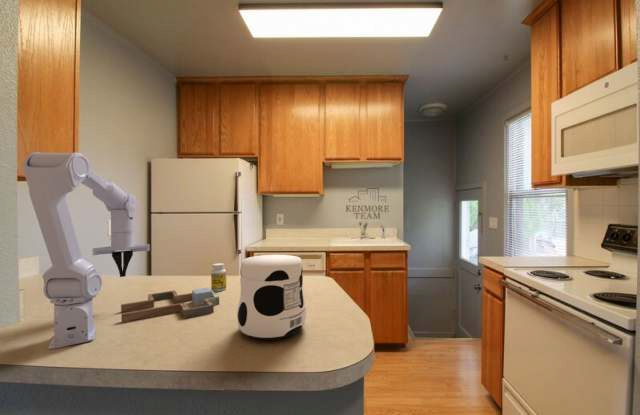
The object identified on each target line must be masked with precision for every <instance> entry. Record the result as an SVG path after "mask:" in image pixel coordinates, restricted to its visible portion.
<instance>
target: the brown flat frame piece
mask: <svg viewBox="0 0 640 415" xmlns="http://www.w3.org/2000/svg"><path fill="white" fill-rule="evenodd" d="M210 290H211V291H212V289H210ZM169 299H172V301H173V302H174V304H168V305H163V306H158V307H155V302H156V301H163V300H169ZM190 301H192V292H190V293H189V292H188V293H185V294H184V293H183V294H178V293H177V291H176V290H169V291H162V292H155V293H150V294H147V299H146V300H141V301H134V302H128V303H121V304H120V313H121V323H122V322H124V323H128V322H127V321H129V322H133V321H132V320H134V321H138V320H137V319H139V320H144V319H143V318H145V319H150V318H154V317H158V316H165V315H171V314H175V313H180V314H181V315H182V317H183V319H188V318H189V319H190V318H194V317H199V316H203V315H208V314H212V313H214V306H216V305H220V297H219V295H218V294H216V293H215V291H212V298H207V299H204V305H200V306H195V307H191V308H187V307H186V305H185V303H186V302H190ZM184 302H185V303H184ZM149 317H150V318H149Z"/></svg>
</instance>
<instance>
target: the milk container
mask: <svg viewBox="0 0 640 415" xmlns="http://www.w3.org/2000/svg"><path fill="white" fill-rule="evenodd" d="M239 269H240V277H239V278H240V281H239V282H240V283H239V284H240V297H239V301H238V304H237V310H236V320H237V325H238V329H239V330H240V332H241V334H243V335H246V336H247V337H249V338H251V339H256V340H262V341H263V340H264V341H265V340H266V341H271V340H278V339H284V338H287V337H290V336H293V335H294V334H297V333H298V332H299V331H300V330H301V329H302V328H303V327H304V325H305V324H306V323H305V322H306V318H307V306H306V301H305V297H304V293H303V292H304V291H303V290H304V289H303V286H304V285H303V278H304V276H303V262H302V258H301V257H299V256H296V255H292V254H291V255H289V254H262V255H261V254H260V255H254V256H250V257H246V258H243V259H242V260H241V263H240V268H239Z"/></svg>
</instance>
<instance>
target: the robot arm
mask: <svg viewBox="0 0 640 415" xmlns="http://www.w3.org/2000/svg"><path fill="white" fill-rule="evenodd" d="M21 167H22V170H23V174H24V177H25V181H26V182H27V186H28V193H29V197H30V200H31V204H32V207H33V209H34V212H35V216H36V219H37V222H38V225H39V228H40V232H41V235H42V237H43V241H44V245H45V246H46V249H47V252H48V256H49V259H50V262H51V265H52V266H50V267H49V268H48V269H47V270H46V271H45V272H44V273H43V275H42V279H43V294H44V296H45V298H47V299H49V300H50V302H49V303H50V304H53V337H52V339H51V341H50V343H49V345H48V346H47V347H48V348H47V350H55V349H59V348H62V347H63V348H64V347H68V346H72V345H78V344H82V343H88V342H91V341H94V340H95V335H96V330H97V329H96V328H97V325H95V324H94V298H96V297H97V295H98V294H99V292H100V291H101V288H102V286H103V279H102V276H101V275H100V272H98V271H97V269H96V266H95V265H94V264H93V263H91V262H89V261H87V260H86V259H84V258H83V256H82V253H81V252H82V251H81V249H80V246H79V243H78V238H77V235H76V231H75V228H74V225H73V221H72V218H71V213H70V210H69V207H68V203H67V200H66V197H67V195H68V193H71V192H73V191H74V190H76V189H77V188H78V187H79V185H81V184H82V185H84V186H85V187H87V188H89V189H90V190H92V194H93V196H94V197H95V198H96V199H98V200H99V201H101V202H102V203H103V204H104V205H105V208H106V210H107V211H108V212H109V213H110V246H103V247H93V248H92V256H98V255H111V257H112V259H113V261H114V263H115V264H116V267H117V270H118V273H119V278H123V277H126V275H127V274H126V273H127V270H128V266H129V263H130V261H131V260H132V258H133V255H134V253H136V252H151V251H150V250H151V247H150V246H151V245H150V243H149V244H148V243H147V244H134V218H135V216H136V209H137V207H138V202H137V201H138V200H137V198H136V196H135V195H133V194H132V193H126V192H125V191H124V190H123V189H121V188H120V187H119V186H118V185H116V184H115V182H114V181H113V180H109V179H108V180H104V179H103V178H102V177H101V176H100V175H99V174H97V172H95V170H93V168H92V167H91V161H90V160H89V159H88V158H86V156H85V155H84V154H82V153H80V152H69V153H68V152H41V151H40V152H39V151H37V152H36V151H35V152H32V153H30V154H29V155H28V156H27V157H26V158H25V159H24V161H23V163H22V165H21Z"/></svg>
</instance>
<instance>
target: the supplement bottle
mask: <svg viewBox="0 0 640 415" xmlns="http://www.w3.org/2000/svg"><path fill="white" fill-rule="evenodd" d="M210 275H211V277H210V282H211V283H210V284H211V286H210V287H211V289H210V290H212V291H213V292H223V291H225V290H227V270H226V269H225V263H223V262H221V263H218V262H217V263H213V264H212V270H211V272H210Z"/></svg>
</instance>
